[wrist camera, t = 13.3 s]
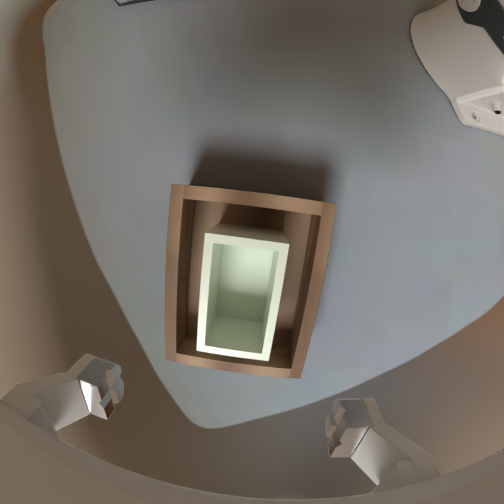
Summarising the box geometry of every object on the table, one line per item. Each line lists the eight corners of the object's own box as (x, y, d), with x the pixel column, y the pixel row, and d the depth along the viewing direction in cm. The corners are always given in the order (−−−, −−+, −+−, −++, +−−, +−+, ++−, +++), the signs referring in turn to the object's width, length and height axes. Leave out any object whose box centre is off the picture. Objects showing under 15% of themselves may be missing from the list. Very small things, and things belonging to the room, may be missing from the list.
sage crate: (283, 231, 24) (289, 244, 18) (267, 325, 26) (268, 361, 20) (219, 222, 24) (205, 232, 18) (210, 317, 26) (196, 350, 20)
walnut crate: (322, 201, 24) (336, 204, 19) (295, 349, 27) (300, 378, 22) (189, 185, 24) (171, 184, 19) (180, 333, 27) (165, 359, 22)
